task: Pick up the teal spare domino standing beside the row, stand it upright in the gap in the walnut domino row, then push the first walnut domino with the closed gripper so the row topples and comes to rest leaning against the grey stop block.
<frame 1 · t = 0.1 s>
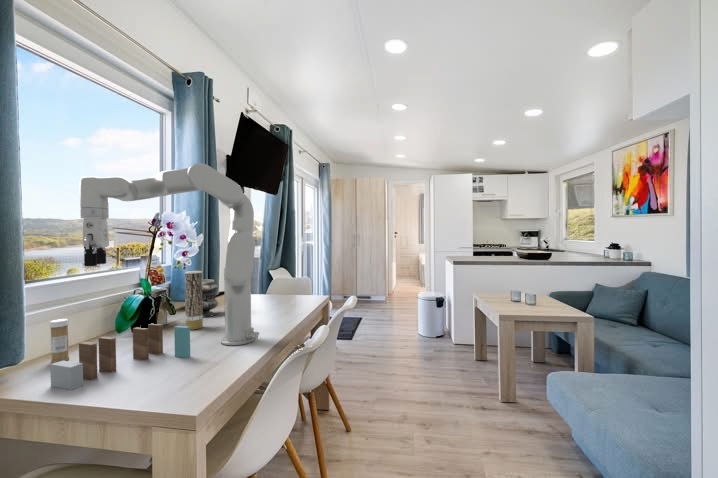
hand: (95, 264, 116), 31 cm above the table, tool pointing down, fingers open, 9 cm apart
domino 2: (141, 358, 115), on the table
paper tube: (194, 328, 152), on the table
end block: (67, 385, 94), on the table
spare domino: (182, 356, 116), on the table
domino 5: (88, 377, 99), on the table
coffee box: (154, 326, 157), on the table
sprinkles bottle: (60, 361, 114), on the table
domino 1: (155, 353, 120), on the table
domino 4: (107, 370, 105), on the table
stacked stone tower: (205, 315, 178), on the table
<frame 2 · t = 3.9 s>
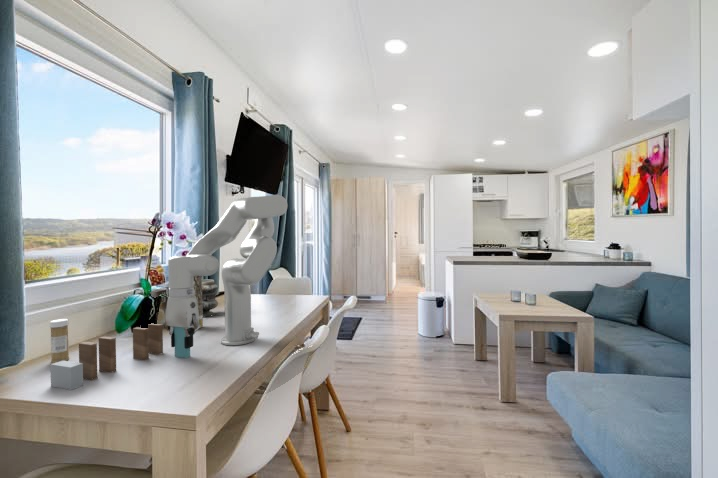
hand: (182, 346, 116), 3 cm above the table, tool pointing down, fingers closed on spare domino, 4 cm apart
spare domino: (182, 356, 116), on the table, touching gripper
everything else where it was.
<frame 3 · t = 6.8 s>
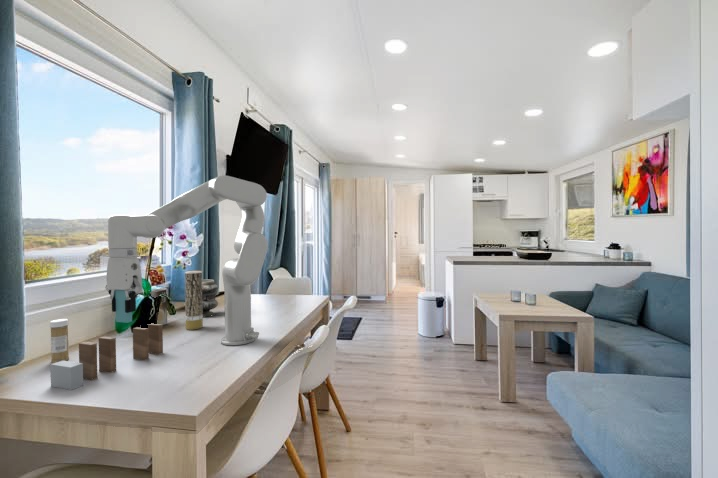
hand: (123, 310, 110), 17 cm above the table, tool pointing down, fingers closed on spare domino, 4 cm apart
spare domino: (124, 321, 110), point 14 cm above the table, touching gripper
everything else where it was.
when the fingers open (4 cm above the table, at t = 10.0 s): spare domino stays where it is, on the table.
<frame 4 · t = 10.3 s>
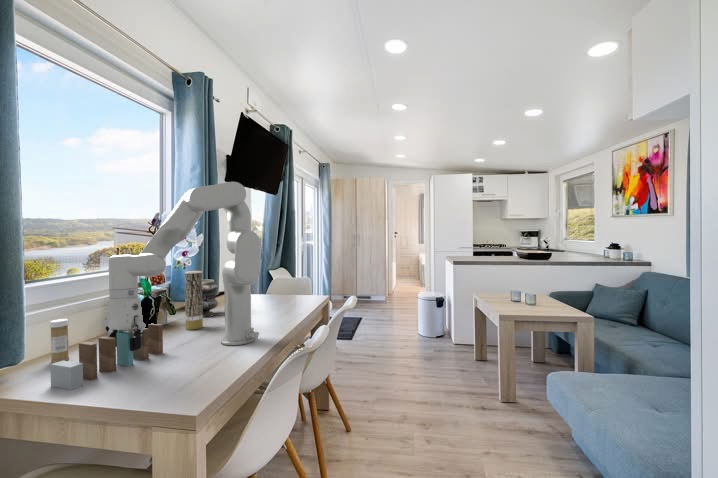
hand: (124, 348, 110), 5 cm above the table, tool pointing down, fingers open, 8 cm apart
spare domino: (125, 364, 110), on the table
everything else where it was.
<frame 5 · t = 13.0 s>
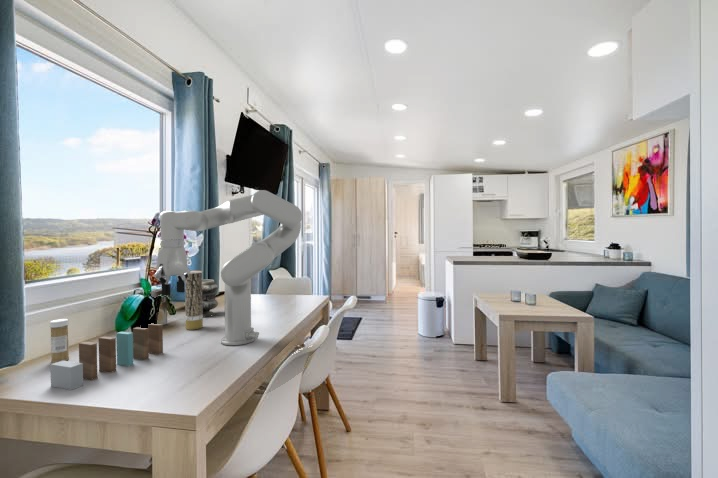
hand: (173, 293, 128), 20 cm above the table, tool pointing down, fingers open, 5 cm apart
nothing on the table moved.
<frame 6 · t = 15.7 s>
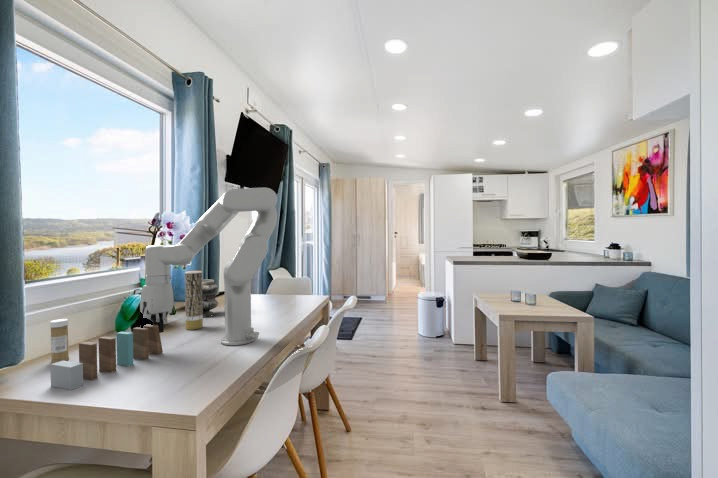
hand: (158, 332, 122), 7 cm above the table, tool pointing down, fingers closed
domino 1: (155, 352, 120), on the table, tilted 10°
everything else where it was.
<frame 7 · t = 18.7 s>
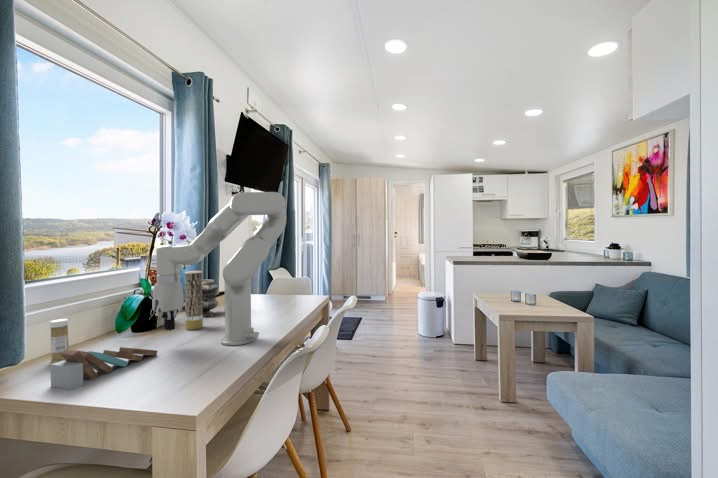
hand: (169, 329, 126), 7 cm above the table, tool pointing down, fingers closed
domino 2: (136, 357, 113), point 1 cm above the table, tilted 64°, touching domino 1, spare domino
spare domino: (121, 363, 109), point 1 cm above the table, tilted 56°, touching domino 2, domino 4
domino 5: (89, 376, 100), on the table, tilted 31°, touching domino 4, end block
domino 1: (151, 352, 119), point 1 cm above the table, tilted 68°, touching domino 2
domino 4: (105, 369, 104), point 1 cm above the table, tilted 45°, touching domino 5, spare domino
everything else where it was.
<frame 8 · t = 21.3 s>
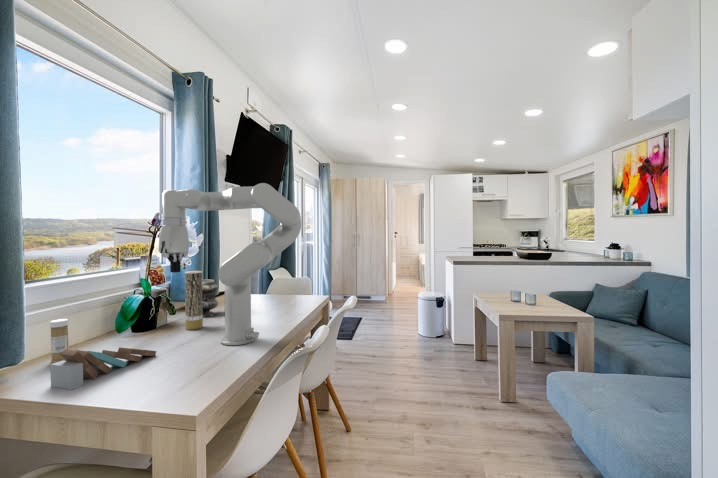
hand: (175, 272, 130), 27 cm above the table, tool pointing down, fingers closed
domino 2: (135, 358, 113), point 1 cm above the table, tilted 63°, touching domino 1
spare domino: (119, 364, 108), point 1 cm above the table, tilted 55°, touching domino 4
everything else where it was.
at the end: spare domino inside the target area (0.8 cm from its centre), point 0.6 cm above the table; spare domino tilted 54°; domino 5 tilted 32° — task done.
